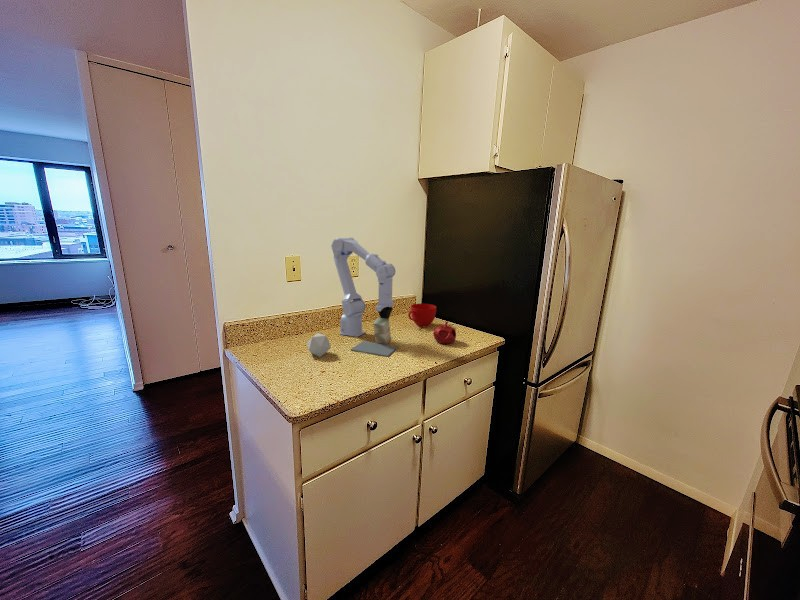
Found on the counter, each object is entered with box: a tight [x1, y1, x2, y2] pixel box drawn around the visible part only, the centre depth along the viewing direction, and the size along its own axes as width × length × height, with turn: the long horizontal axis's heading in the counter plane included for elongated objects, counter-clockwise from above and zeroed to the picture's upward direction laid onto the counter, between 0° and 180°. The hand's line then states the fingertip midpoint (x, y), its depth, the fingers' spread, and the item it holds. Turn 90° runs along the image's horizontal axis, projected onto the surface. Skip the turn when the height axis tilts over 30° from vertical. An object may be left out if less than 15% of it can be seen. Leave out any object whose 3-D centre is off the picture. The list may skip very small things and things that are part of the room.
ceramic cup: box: [407, 303, 437, 328], centre depth 165 cm, size 13×17×10 cm
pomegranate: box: [432, 321, 457, 345], centre depth 142 cm, size 10×10×9 cm
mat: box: [350, 340, 399, 358], centre depth 132 cm, size 16×11×1 cm
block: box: [372, 316, 392, 345], centre depth 137 cm, size 5×5×10 cm
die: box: [306, 332, 332, 358], centre depth 124 cm, size 8×9×10 cm
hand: (384, 324), depth 139 cm, fingers closed
